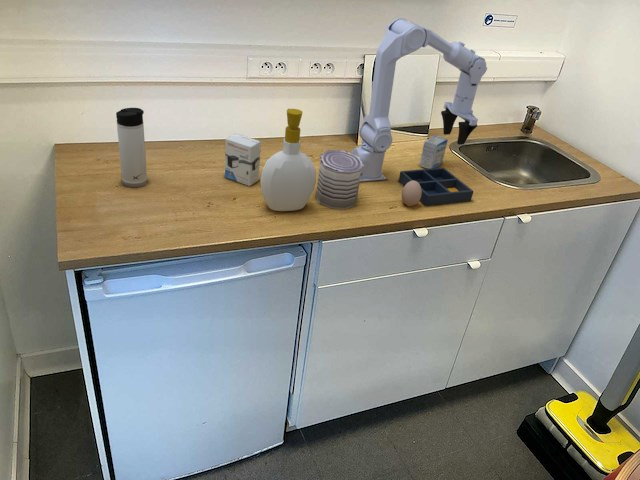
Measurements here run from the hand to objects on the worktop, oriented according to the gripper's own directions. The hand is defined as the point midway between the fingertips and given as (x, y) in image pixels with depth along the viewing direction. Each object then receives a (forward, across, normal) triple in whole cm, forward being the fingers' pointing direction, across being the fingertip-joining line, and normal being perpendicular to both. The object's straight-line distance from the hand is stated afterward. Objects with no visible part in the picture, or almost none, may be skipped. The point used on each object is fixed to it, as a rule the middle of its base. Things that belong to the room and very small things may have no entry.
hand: (453, 139), depth 168 cm
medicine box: (+10, +3, +4) cm, 11 cm away
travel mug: (+10, +7, +94) cm, 95 cm away
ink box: (+10, +4, +66) cm, 67 cm away
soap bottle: (+10, -13, +59) cm, 61 cm away
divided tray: (+10, -13, +13) cm, 21 cm away
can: (+10, -12, +44) cm, 47 cm away
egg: (+10, -19, +25) cm, 33 cm away
